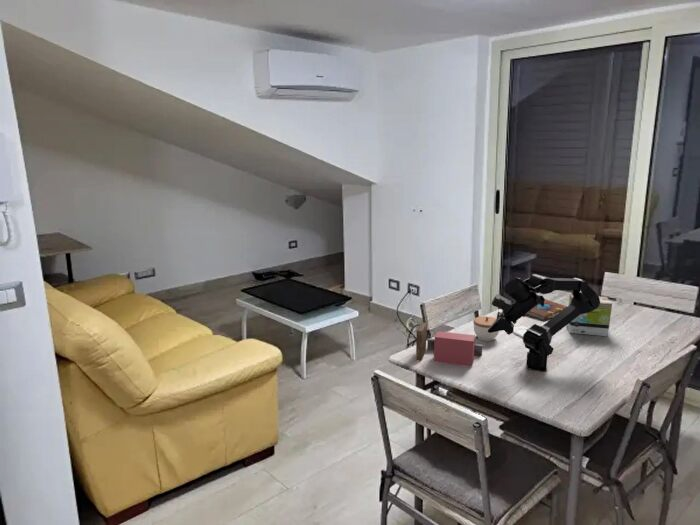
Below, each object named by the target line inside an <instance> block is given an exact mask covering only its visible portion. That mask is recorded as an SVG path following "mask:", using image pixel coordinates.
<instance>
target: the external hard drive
mask: <svg viewBox="0 0 700 525" xmlns="http://www.w3.org/2000/svg"><path fill="white" fill-rule="evenodd" d="M526 329H529V328H528V327H526V326H524V325H519V326H514V330H513V332H512V333H511V334H514V335H516V336H518V337H519V338H521V339H523V335H524V333H525V332H526V331H527V330H526Z"/></svg>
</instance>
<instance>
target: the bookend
mask: <svg viewBox="0 0 700 525" xmlns="http://www.w3.org/2000/svg"><path fill="white" fill-rule="evenodd" d="M427 326H428V323H427V322H420V323H419V326H418V327H417V329H416V345H415V349H416V350H415V361H418V362H422V360H423V358H424V356H425V354H426V352H427V350H430V351H431V350H432V351H434V342H435V338H429V337H428V338H427ZM474 356H479V357H480V356H482V357H483V344H479V343H475V348H474Z"/></svg>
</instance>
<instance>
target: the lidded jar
mask: <svg viewBox="0 0 700 525" xmlns="http://www.w3.org/2000/svg"><path fill="white" fill-rule="evenodd" d="M496 319H497V317H492V316H488V315H487V316H477V317H475V318H474V319H473V332H474V335H475V336H476V337H478V339H479V340H480V341H483V342H491V341H494V339H495V338H497V336H498V335H499V334H500V331H497V332H492V333H489V332H488V329H489V328H490V327H491V325H492V324H493V323H494V322H495V320H496Z"/></svg>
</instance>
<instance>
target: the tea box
mask: <svg viewBox="0 0 700 525" xmlns="http://www.w3.org/2000/svg"><path fill="white" fill-rule="evenodd" d="M598 296H599V295H598ZM572 298H573V295H572V293H571V294H569V300H568V306H569V305H570V304H571V301H572ZM599 299H600V305H599V307H598V308H597V309H595V310H593V311H592V312H590V313H585V314H581V315H579V316H578V317H576V318H575V319H574V320H573V321H571V322H570V323H569V324H567V325H566V327H567V330H568V332H569V333H570V334H581V335H589V336H591V335H592V336H601V337H608V335H609V331H610V323H611V317H612V316H611V315H612V307H613V304H612V302H611V301H610V299H609V298H608V297H607V296H599Z"/></svg>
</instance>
